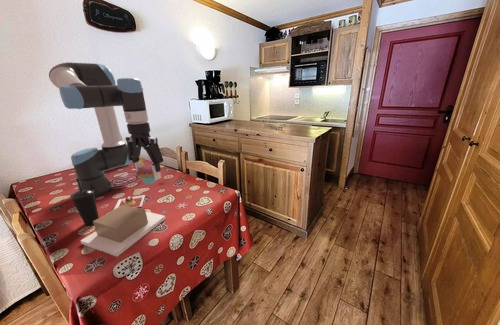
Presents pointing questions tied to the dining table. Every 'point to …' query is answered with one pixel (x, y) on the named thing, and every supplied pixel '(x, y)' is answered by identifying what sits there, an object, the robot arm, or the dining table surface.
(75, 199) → the drinking cup
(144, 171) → the cupcake
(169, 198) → the dining table surface
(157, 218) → the plinth
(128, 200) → the white square frame
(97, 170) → the robot arm
